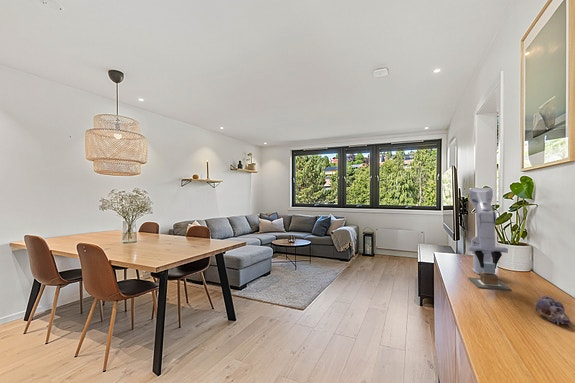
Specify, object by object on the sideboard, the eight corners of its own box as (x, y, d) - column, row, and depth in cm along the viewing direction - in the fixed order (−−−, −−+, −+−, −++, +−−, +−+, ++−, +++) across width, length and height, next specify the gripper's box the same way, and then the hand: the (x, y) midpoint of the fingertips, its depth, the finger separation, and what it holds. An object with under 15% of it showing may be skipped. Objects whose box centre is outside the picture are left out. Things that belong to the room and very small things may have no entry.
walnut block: (480, 280, 123) (480, 272, 124) (493, 281, 122) (493, 272, 122) (484, 284, 119) (484, 275, 119) (497, 285, 117) (497, 276, 117)
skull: (579, 331, 79) (578, 310, 79) (545, 325, 83) (544, 305, 83) (562, 314, 90) (561, 296, 90) (532, 310, 93) (531, 293, 93)
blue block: (481, 270, 123) (481, 261, 123) (491, 270, 122) (491, 261, 122) (484, 272, 119) (484, 263, 119) (495, 273, 118) (495, 264, 118)
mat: (468, 278, 129) (468, 277, 129) (498, 280, 125) (498, 279, 125) (478, 288, 116) (478, 286, 116) (512, 290, 112) (511, 289, 112)
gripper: (471, 238, 119) (472, 268, 119) (510, 239, 115) (511, 271, 114) (466, 236, 126) (467, 265, 126) (503, 237, 121) (504, 267, 121)
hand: (488, 267), depth 121 cm, fingers closed on blue block, 4 cm apart
